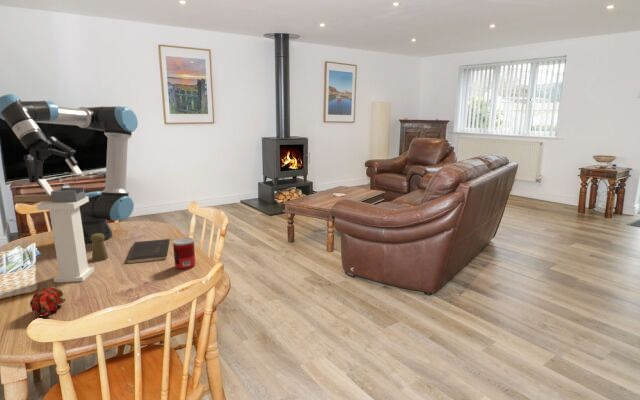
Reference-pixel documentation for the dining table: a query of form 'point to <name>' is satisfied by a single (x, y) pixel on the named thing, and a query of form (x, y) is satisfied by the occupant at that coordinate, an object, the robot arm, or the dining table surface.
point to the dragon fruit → (47, 301)
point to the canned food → (184, 253)
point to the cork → (98, 247)
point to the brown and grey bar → (54, 196)
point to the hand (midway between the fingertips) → (65, 185)
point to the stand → (68, 239)
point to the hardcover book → (148, 251)
